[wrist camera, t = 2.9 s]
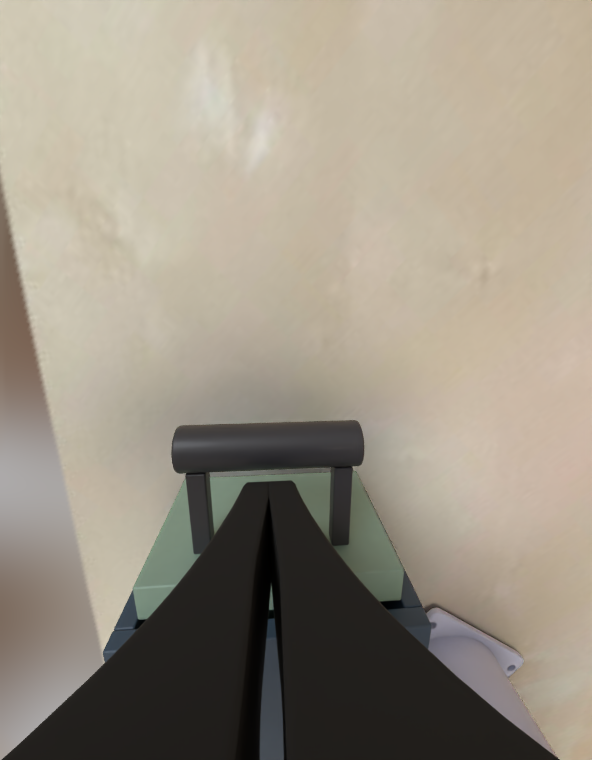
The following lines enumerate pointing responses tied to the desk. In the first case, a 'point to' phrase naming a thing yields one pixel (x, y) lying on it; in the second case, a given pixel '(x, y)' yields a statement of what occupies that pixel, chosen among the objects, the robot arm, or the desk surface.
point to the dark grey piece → (271, 705)
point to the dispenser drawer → (268, 452)
